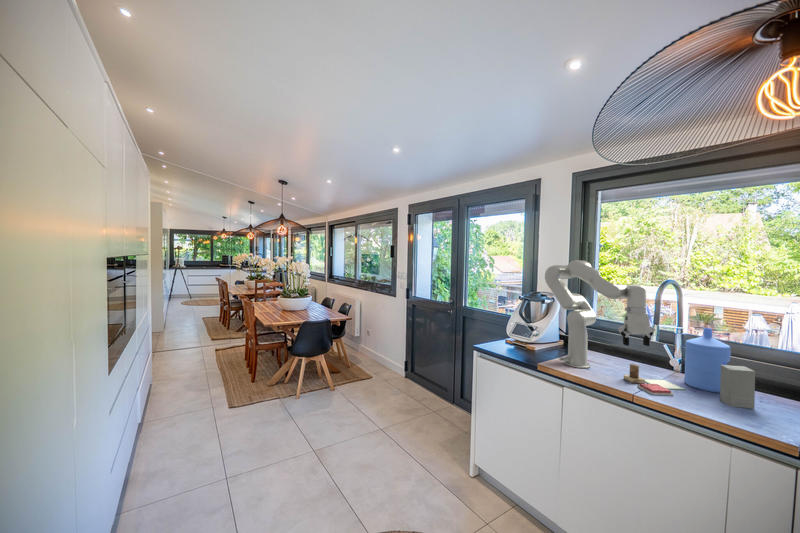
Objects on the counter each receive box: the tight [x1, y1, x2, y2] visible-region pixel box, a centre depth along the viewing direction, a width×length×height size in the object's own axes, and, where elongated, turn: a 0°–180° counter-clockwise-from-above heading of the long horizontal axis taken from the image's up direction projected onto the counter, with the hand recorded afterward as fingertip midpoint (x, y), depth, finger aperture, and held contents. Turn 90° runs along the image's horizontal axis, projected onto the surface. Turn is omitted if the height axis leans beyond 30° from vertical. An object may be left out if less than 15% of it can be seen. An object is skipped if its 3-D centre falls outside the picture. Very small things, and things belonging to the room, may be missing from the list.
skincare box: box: [719, 364, 756, 410], centre depth 131 cm, size 8×7×16 cm
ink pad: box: [637, 383, 674, 397], centre depth 144 cm, size 9×9×2 cm
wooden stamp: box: [623, 363, 646, 385], centre depth 156 cm, size 6×6×8 cm
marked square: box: [643, 378, 686, 391], centre depth 152 cm, size 12×12×1 cm
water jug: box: [683, 327, 732, 394], centre depth 151 cm, size 16×16×28 cm
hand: (636, 345), depth 155 cm, fingers open, 9 cm apart
